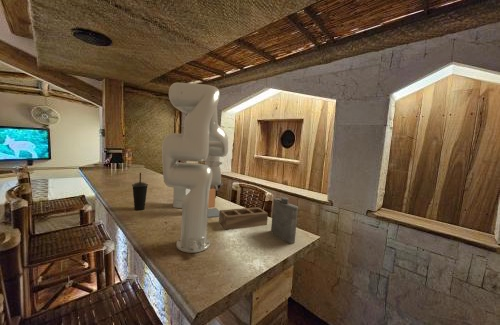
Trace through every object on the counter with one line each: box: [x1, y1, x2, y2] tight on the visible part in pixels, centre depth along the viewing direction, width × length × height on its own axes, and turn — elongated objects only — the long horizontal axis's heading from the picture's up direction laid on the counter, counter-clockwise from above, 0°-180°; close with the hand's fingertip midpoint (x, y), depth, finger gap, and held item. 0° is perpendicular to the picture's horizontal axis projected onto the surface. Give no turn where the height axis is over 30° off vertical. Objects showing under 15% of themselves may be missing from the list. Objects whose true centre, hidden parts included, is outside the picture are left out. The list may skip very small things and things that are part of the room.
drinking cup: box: [131, 172, 149, 212], centre depth 118 cm, size 8×8×20 cm
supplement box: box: [172, 188, 190, 209], centre depth 129 cm, size 7×7×13 cm
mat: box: [207, 207, 220, 219], centre depth 121 cm, size 12×12×1 cm
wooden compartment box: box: [218, 206, 269, 231], centre depth 110 cm, size 10×22×6 cm, turn 117°
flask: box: [270, 196, 299, 245], centre depth 98 cm, size 4×14×18 cm, turn 34°
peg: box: [208, 187, 216, 209], centre depth 120 cm, size 4×4×10 cm
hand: (210, 197), depth 120 cm, fingers closed on peg, 4 cm apart
